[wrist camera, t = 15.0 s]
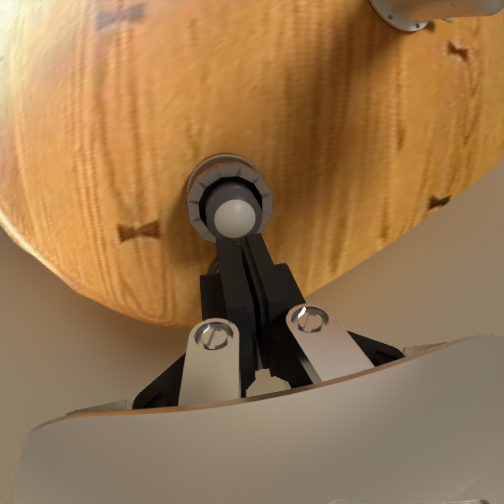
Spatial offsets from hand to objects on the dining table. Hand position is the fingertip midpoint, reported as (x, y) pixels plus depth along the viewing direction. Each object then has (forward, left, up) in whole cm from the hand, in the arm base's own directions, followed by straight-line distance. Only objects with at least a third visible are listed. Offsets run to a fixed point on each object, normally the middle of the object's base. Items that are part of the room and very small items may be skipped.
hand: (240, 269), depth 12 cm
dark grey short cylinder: (-2, +7, -25) cm, 26 cm away
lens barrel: (-2, +7, -31) cm, 32 cm away
